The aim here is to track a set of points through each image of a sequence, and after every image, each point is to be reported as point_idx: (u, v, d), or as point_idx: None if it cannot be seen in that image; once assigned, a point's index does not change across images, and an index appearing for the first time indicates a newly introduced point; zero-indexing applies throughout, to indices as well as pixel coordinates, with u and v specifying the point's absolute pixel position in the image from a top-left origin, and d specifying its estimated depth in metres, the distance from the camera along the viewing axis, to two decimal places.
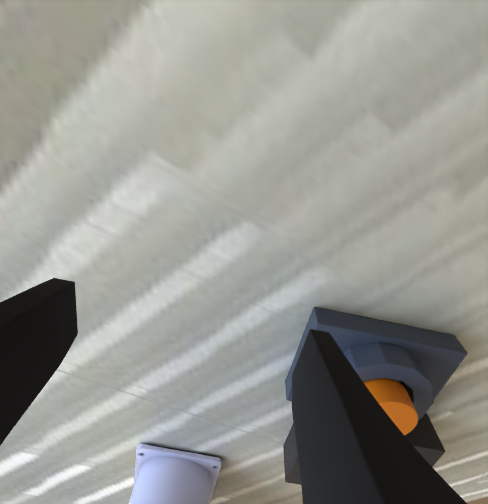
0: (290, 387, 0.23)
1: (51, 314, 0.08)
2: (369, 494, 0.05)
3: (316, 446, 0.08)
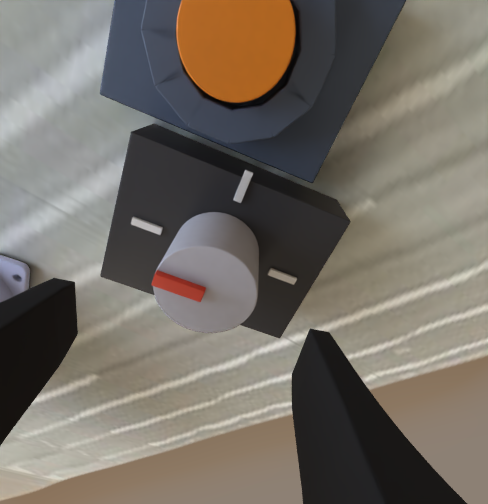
0: None
1: (51, 314, 0.08)
2: (368, 494, 0.05)
3: (316, 446, 0.08)
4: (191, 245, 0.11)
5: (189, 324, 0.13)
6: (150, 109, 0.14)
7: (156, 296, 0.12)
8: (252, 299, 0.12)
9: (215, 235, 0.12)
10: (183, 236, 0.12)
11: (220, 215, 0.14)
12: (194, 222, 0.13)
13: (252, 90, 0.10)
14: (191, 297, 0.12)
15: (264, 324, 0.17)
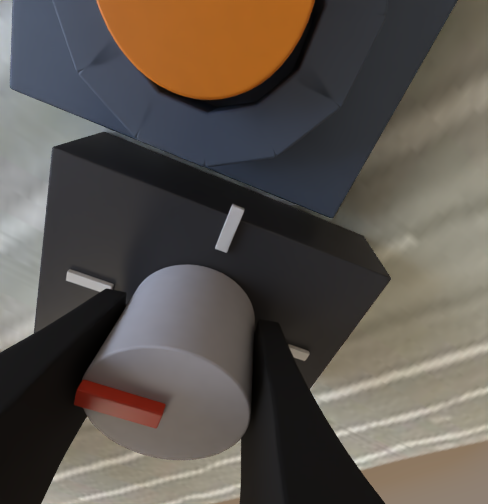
0: None
1: (108, 325, 0.08)
2: (274, 477, 0.05)
3: (252, 434, 0.08)
4: (136, 344, 0.07)
5: (144, 449, 0.08)
6: (88, 111, 0.09)
7: (88, 413, 0.08)
8: (242, 421, 0.07)
9: (181, 319, 0.07)
10: (132, 315, 0.08)
11: (196, 271, 0.09)
12: (154, 284, 0.09)
13: (237, 77, 0.06)
14: (141, 422, 0.07)
15: None
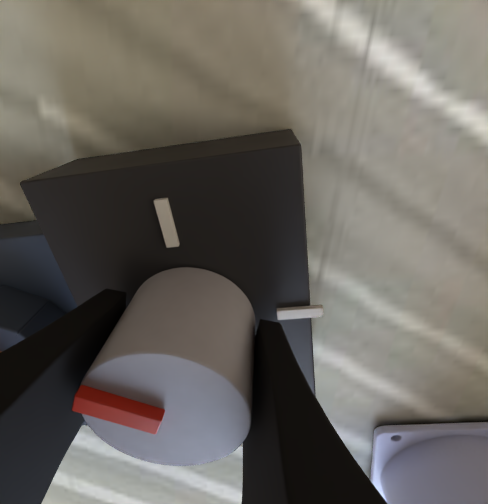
0: None
1: (108, 325, 0.08)
2: (277, 478, 0.05)
3: (254, 435, 0.08)
4: (135, 348, 0.07)
5: (143, 455, 0.08)
6: None
7: (86, 418, 0.08)
8: (242, 427, 0.07)
9: (181, 323, 0.07)
10: (131, 319, 0.08)
11: (196, 274, 0.09)
12: (154, 287, 0.09)
13: None
14: (140, 428, 0.07)
15: (281, 193, 0.08)
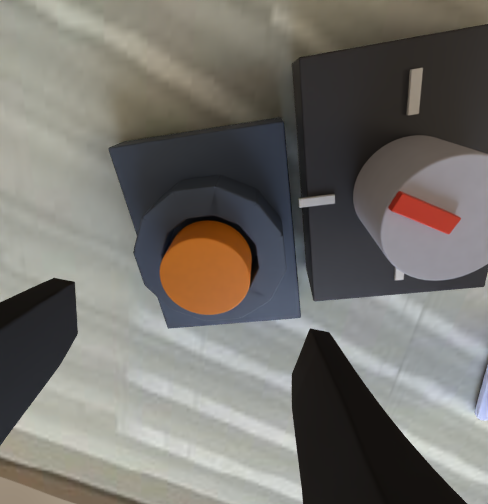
0: None
1: (51, 314, 0.08)
2: (369, 494, 0.05)
3: (316, 446, 0.08)
4: (455, 153, 0.09)
5: (413, 268, 0.10)
6: (293, 285, 0.16)
7: (383, 229, 0.10)
8: None
9: (468, 148, 0.09)
10: (414, 153, 0.10)
11: (432, 137, 0.11)
12: (406, 143, 0.11)
13: (228, 253, 0.12)
14: (440, 227, 0.09)
15: None
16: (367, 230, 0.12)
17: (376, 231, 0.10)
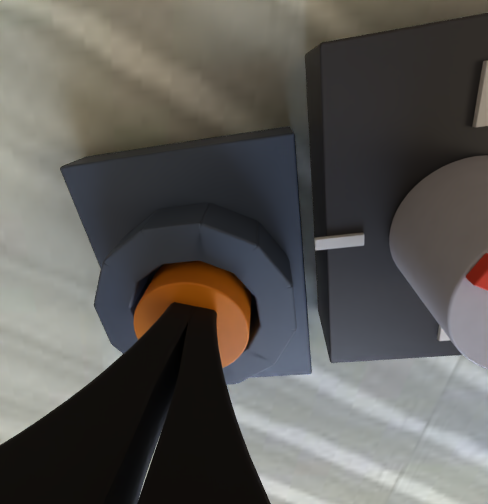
0: None
1: (183, 339, 0.08)
2: (155, 457, 0.05)
3: None
4: None
5: None
6: (302, 336, 0.13)
7: (453, 307, 0.06)
8: None
9: None
10: None
11: None
12: (476, 169, 0.07)
13: (221, 301, 0.09)
14: None
15: None
16: None
17: (438, 304, 0.07)
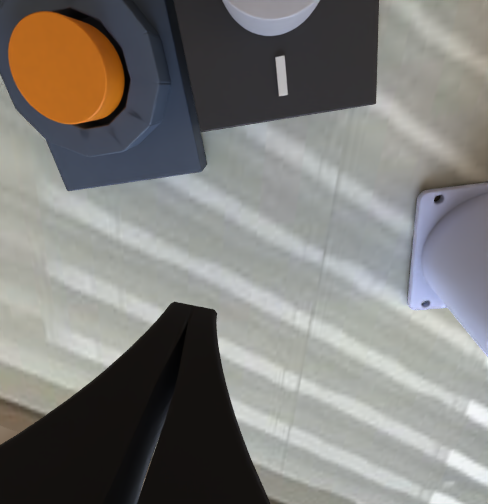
0: (180, 174, 0.17)
1: (183, 339, 0.08)
2: (155, 456, 0.05)
3: None
4: None
5: (247, 2, 0.09)
6: (187, 127, 0.15)
7: None
8: None
9: None
10: None
11: None
12: None
13: (75, 32, 0.11)
14: None
15: None
16: (226, 7, 0.11)
17: None
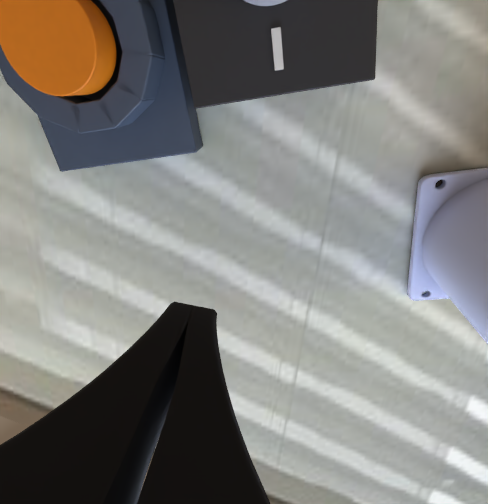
0: (174, 154, 0.16)
1: (183, 339, 0.08)
2: (154, 457, 0.05)
3: None
4: None
5: None
6: (181, 105, 0.15)
7: None
8: None
9: None
10: None
11: None
12: None
13: None
14: None
15: None
16: None
17: None
